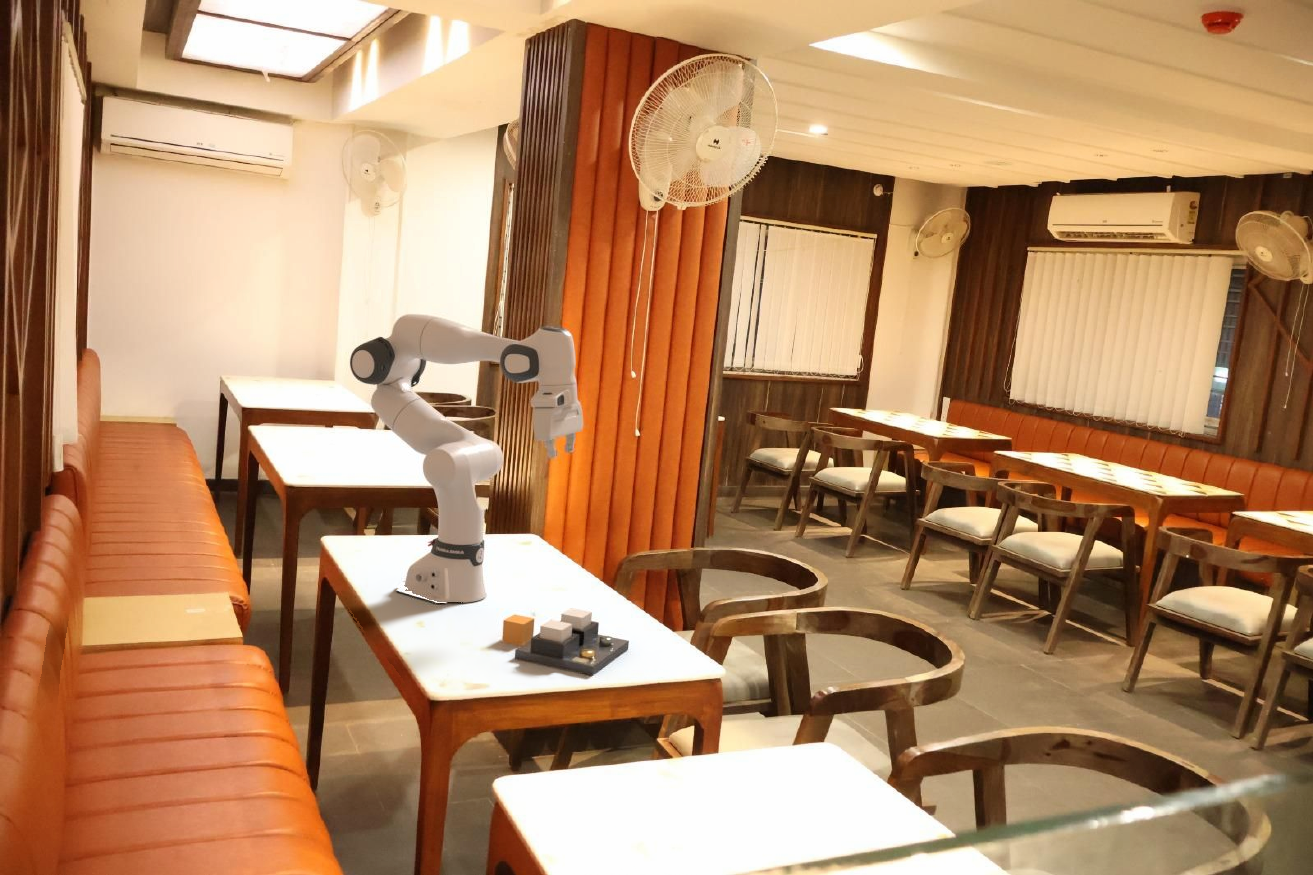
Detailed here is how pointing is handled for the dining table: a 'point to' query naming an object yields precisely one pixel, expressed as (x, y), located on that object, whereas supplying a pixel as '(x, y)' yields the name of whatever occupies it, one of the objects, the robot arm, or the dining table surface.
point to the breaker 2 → (577, 618)
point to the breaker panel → (574, 651)
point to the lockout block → (518, 630)
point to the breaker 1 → (556, 631)
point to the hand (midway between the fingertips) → (561, 455)
